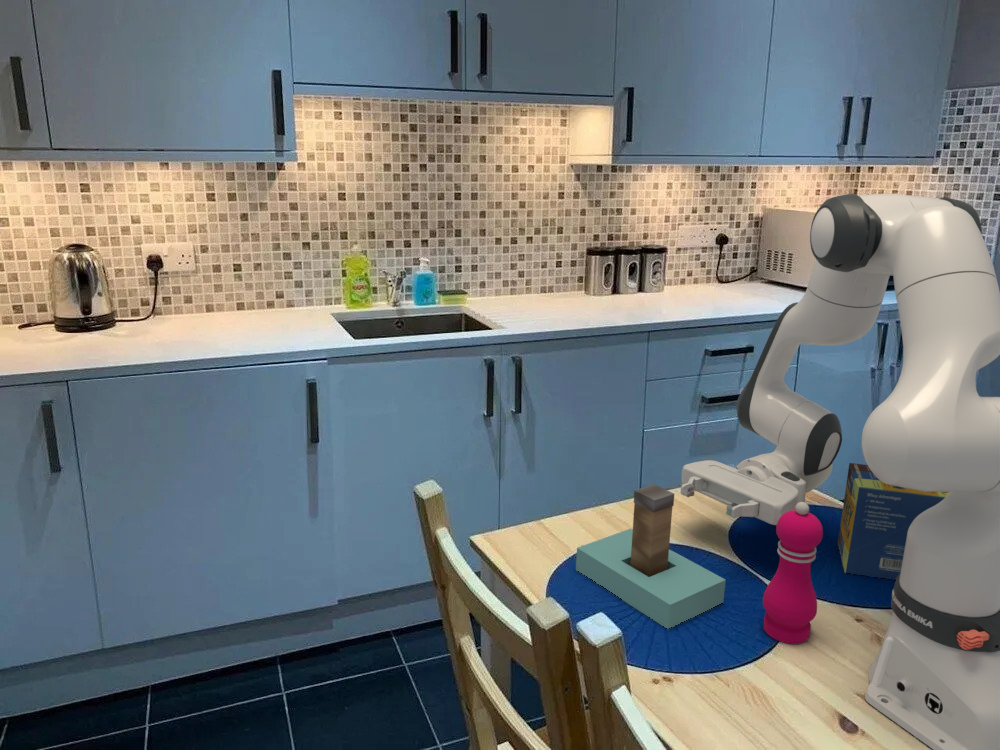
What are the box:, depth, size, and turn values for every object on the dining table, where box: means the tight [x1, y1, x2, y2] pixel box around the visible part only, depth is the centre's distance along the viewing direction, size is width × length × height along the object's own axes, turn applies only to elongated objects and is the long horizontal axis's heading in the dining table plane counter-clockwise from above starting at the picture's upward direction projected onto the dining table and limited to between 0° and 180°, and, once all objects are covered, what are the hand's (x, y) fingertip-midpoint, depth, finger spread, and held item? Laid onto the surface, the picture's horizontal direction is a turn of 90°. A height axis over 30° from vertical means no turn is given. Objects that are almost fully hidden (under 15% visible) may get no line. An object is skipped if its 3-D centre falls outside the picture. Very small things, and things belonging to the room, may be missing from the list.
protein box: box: [837, 462, 950, 581], centre depth 131 cm, size 10×15×16 cm
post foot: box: [575, 528, 727, 630], centre depth 125 cm, size 20×12×4 cm, turn 36°
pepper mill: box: [762, 502, 824, 645], centre depth 111 cm, size 7×7×20 cm
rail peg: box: [630, 484, 675, 577], centre depth 123 cm, size 4×4×16 cm
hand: (706, 501), depth 129 cm, fingers open, 8 cm apart
